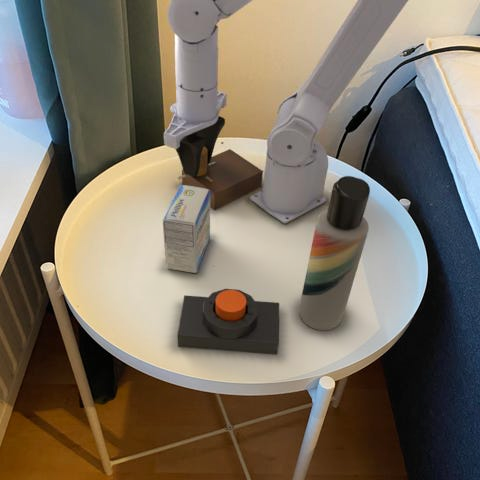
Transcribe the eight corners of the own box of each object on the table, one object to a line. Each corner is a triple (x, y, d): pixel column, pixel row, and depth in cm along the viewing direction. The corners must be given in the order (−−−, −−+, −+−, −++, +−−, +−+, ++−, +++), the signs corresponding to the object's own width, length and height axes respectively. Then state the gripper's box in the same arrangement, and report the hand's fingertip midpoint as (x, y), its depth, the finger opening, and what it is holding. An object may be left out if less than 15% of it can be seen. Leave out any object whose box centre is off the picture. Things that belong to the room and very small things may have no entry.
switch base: (177, 346, 66) (176, 325, 63) (184, 306, 71) (183, 284, 68) (276, 354, 66) (280, 333, 63) (277, 314, 71) (280, 292, 68)
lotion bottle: (320, 292, 74) (351, 162, 59) (351, 318, 71) (392, 188, 56) (289, 311, 71) (313, 179, 56) (319, 338, 68) (353, 208, 53)
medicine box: (196, 275, 75) (196, 224, 68) (165, 269, 75) (161, 218, 68) (210, 238, 80) (211, 188, 73) (180, 233, 80) (179, 182, 74)
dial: (193, 162, 87) (193, 140, 84) (211, 168, 86) (211, 146, 83) (182, 172, 85) (182, 149, 82) (200, 178, 84) (200, 156, 81)
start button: (214, 320, 65) (214, 310, 63) (216, 298, 67) (217, 288, 66) (244, 323, 65) (245, 313, 63) (246, 300, 67) (247, 290, 66)
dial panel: (221, 159, 94) (222, 142, 91) (261, 187, 89) (263, 170, 87) (164, 184, 88) (163, 167, 86) (204, 215, 83) (204, 198, 81)
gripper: (197, 55, 81) (198, 139, 91) (142, 95, 72) (149, 183, 82) (240, 67, 79) (236, 151, 89) (188, 110, 70) (190, 198, 80)
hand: (197, 167), depth 85 cm, fingers closed on dial, 3 cm apart
